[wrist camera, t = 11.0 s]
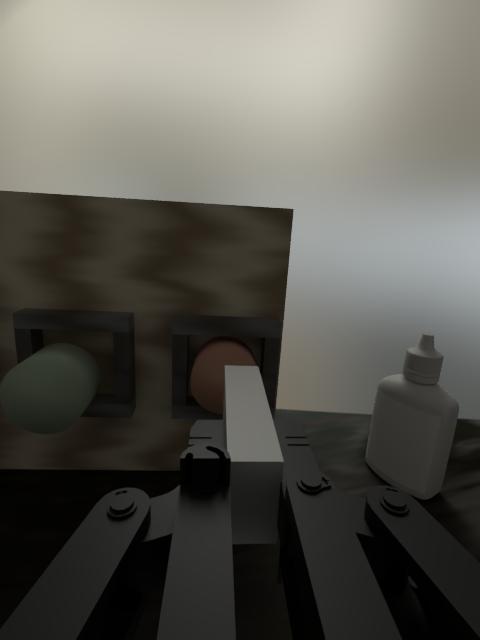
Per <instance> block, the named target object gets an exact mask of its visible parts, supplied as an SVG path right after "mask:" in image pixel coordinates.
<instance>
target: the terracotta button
mask: <svg viewBox="0 0 480 640" xmlns="http://www.w3.org/2000/svg"><path fill="white" fill-rule="evenodd" d="M225 365H230V366H256V363H255V359H254V356H253V353H252V351H251V350H250V348H249V347H248V346H247V345H246V344H245V343H244V342H242V341H241V340H239V339H237V338H234V337H230V336H220V337H215V338H212V339H210V340H208V341H207V342H205V343H204V344H203V345H202V346H201V347H200V348H199V350H198V351H197V353H196V356H195V359H194V364H193V369H192V374H191V381H190V384H191V391H192V394H193V396H194V398H195V399H196V401H197V402H198V403H199V404H200V405H201V406H202V407H203V408H205V409H207V410H209V411H211V412H214V413H218V414H223V400H224V371H225Z"/></svg>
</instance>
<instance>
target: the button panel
mask: <svg viewBox="0 0 480 640" xmlns="http://www.w3.org/2000/svg"><path fill="white" fill-rule="evenodd" d="M292 220H293V209H284V208H268V207H252V206H236V205H220V204H204V203H187V202H173V201H172V202H171V201H157V200H156V201H155V200H139V199H125V198H107V197H93V196H77V195H61V194H44V193H29V192H12V191H0V386H1V383H2V380H3V378H4V377H5V375H6V374H7V373H8V372H9V371H10V370H11V369H12V368H14V367H15V366H17V365H18V364H20V363H21V362H23V361H24V360H26V359H27V358H29V357H30V356H32V355H33V354H35V353H36V352H38V351H39V350H40V349H42V348H44V347H46V346H48V345H51V344H55V343H69V344H73V345H76V346H78V347H81V348H82V349H84V350H86V351H87V352H88V353H89V354H90V355H91V356H92V357H93V358H94V359H95V360H96V362H97V364H98V366H99V368H100V372H101V386H100V389H99V391H98V393H97V394H96V396H95V397H94V399H93V400H92V401H91V403H90V404H89V405H88V407H87V408H86V409H85V411H84V412H83V413H82V415H81V416H80V417H79V419H78V420H77V421H76V422H75V423H74V425H72V426H71V427H70V428H68V429H66V430H65V431H62V432H59V433H56V434H46V435H45V434H36V433H32V432H29V431H27V430H24V429H23V428H21V427H19V426H18V425H16V424H15V423H14V422H13V421H12V420H11V419H10V418H9V417H8V416H7V414H6V413H5V411H4V410H3V408H2V405H1V402H0V469H54V470H156V471H180V457H181V455H182V453H183V452H184V451H185V450H186V449H188V445H189V439H190V431H191V427H192V426H193V425H194V424H195V423H196V421H197V420H223V414H218V413H214V412H211V411H209V410H207V409H205V408H203V407H202V406H201V405H200V404H199V403H198V402H197V401H196V399H195V398H194V396H193V394H192V391H191V384H190V381H191V374H192V369H193V364H194V359H195V356H196V353H197V351H198V350H199V348H200V347H201V346H202V345H203V344H204V343H205V342H207V341H208V340H210V339H212V338H215V337H220V336H230V337H234V338H237V339H239V340H241V341H242V342H244V343H245V344H246V345H247V346H248V347H249V348H250V350H251V351H252V353H253V356H254V359H255V363H256V366H258V367H259V371H260V375H261V378H262V382H263V386H264V389H265V393H266V397H267V401H268V404H269V408H270V412H271V415H272V419H273V420H275V409H276V397H277V387H278V375H279V365H280V353H281V342H282V330H283V320H284V308H285V297H286V286H287V275H288V264H289V253H290V241H291V230H292Z"/></svg>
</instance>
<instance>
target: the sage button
mask: <svg viewBox="0 0 480 640" xmlns="http://www.w3.org/2000/svg"><path fill="white" fill-rule="evenodd" d="M100 386H101V372H100V368H99V366H98V364H97V362H96V360H95V359H94V358H93V357H92V356H91V355H90V354H89V353H88V352H87V351H86V350H84V349H82V348H81V347H78V346H76V345H73V344H69V343H55V344H51V345H48V346H46V347H44V348H42V349H40V350H39V351H38V352H36V353H35V354H33V355H32V356H30V357H29V358H27V359H26V360H24V361H23V362H21V363H20V364H18V365H17V366H15V367H14V368H12V369H11V370H10V371H9V372H8V373H7V374H6V375H5V377H4V378H3V380H2V383H1V386H0V402H1V405H2V408H3V410H4V411H5V413H6V414H7V416H8V417H9V418H10V419H11V420H12V421H13V422H14V423H15V424H16V425H18V426H19V427H21V428H23V429H24V430H27V431H29V432H32V433H36V434H45V435H46V434H56V433H59V432H62V431H65V430H66V429H68V428H70V427H71V426H72V425H74V423H75V422H76V421H77V420H78V419H79V417H80V416H81V415H82V413H83V412H84V411H85V409H86V408H87V407H88V405H89V404H90V403H91V401H92V400H93V399H94V397H95V396H96V394H97V393H98V391H99V389H100Z"/></svg>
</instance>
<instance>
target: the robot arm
mask: <svg viewBox="0 0 480 640" xmlns="http://www.w3.org/2000/svg"><path fill="white" fill-rule="evenodd" d="M278 533H279V538H280V543H281V546H280V557H279V568H278V583H282V579H283V584H284V590H285V596H286V602H287V608H288V613H289V619H290V625H291V631H292V636H293V640H480V562H478V561H477V560H476V559H475V558H474V557H473V556H472V555H471V554H470V553H469V552H468V551H467V550H466V549H465V548H464V547H463V546H462V545H461V544H460V543H459V542H458V541H457V540H456V539H455V538H454V537H453V536H452V535H451V534H450V533H449V532H448V531H447V530H446V529H445V528H444V527H443V526H442V525H441V524H440V523H439V522H438V521H437V520H436V519H435V518H434V517H432V516H431V515H430V514H429V513H428V512H427V511H426V510H425V509H424V508H423V507H422V506H421V505H420V504H419V503H418V502H417V501H416V500H415V499H414V498H413V497H411V496H410V495H409V494H407V493H406V492H404V491H402V490H400V489H398V488H395V487H390V486H386V485H385V486H375V487H373V488H371V489H370V490H369V491H368V493H367V495H366V498H365V497H360V496H356V495H352V494H348V493H345V492H342V491H340V490H338V489H336V487H335V485H334V483H333V482H332V480H331V479H330V478H329V477H328V476H326V475H325V474H324V473H322V472H320V469H319V467H318V464H317V462H316V459H315V457H314V455H313V452H312V450H311V447H310V446H309V442H308V440H307V438H306V435H305V432H304V430H303V428H302V427H301V426H300V425H299V424H298V423H297V422H296V421H295V420H273V419H272V415H271V412H270V408H269V404H268V401H267V397H266V393H265V389H264V386H263V382H262V378H261V375H260V371H259V367H258V366H230V365H225V371H224V400H223V420H197V421H196V423H195V424H194V425H193V426H192V427H191V431H190V439H189V445H188V449H186V450H185V451H184V452H183V453H182V455H181V457H180V484H179V486H177V487H176V488H175V489H174V490H172V491H171V492H169V493H167V494H164V495H161V496H158V497H154V498H150V499H149V496H148V495H147V494H146V493H145V492H144V491H143V490H140V489H137V488H121V489H117V490H114V491H112V492H110V493H108V494H106V495H105V496H104V497H103V498H101V499H100V500H99V501H98V502H97V504H96V505H95V506H94V508H93V509H92V510H91V511H90V513H89V514H88V515H87V517H86V518H85V519H84V521H83V522H82V523H81V524H80V526H79V527H78V528H77V530H76V531H75V532H74V534H73V535H72V536H71V537H70V539H69V540H68V541H67V543H66V544H65V545H64V547H63V548H62V549H61V551H60V552H59V553H58V554H57V556H56V557H55V558H54V560H53V561H52V562H51V564H50V565H49V566H48V567H47V569H46V570H45V571H44V573H43V574H42V575H41V577H40V578H39V579H38V580H37V582H36V583H35V584H34V586H33V587H32V588H31V590H30V591H29V592H28V594H27V595H26V596H25V597H24V599H23V600H22V601H21V603H20V604H19V605H18V607H17V608H16V609H15V610H14V612H13V613H12V614H11V616H10V617H9V618H8V620H7V621H6V622H5V623H4V625H3V626H2V627H1V629H0V640H132V638H133V635H134V633H135V631H136V628H137V626H138V623H139V621H140V619H141V616H142V614H143V612H144V609H145V607H146V605H147V602H148V600H149V598H150V595H151V591H152V590H153V589H156V588H159V587H162V586H164V585H165V587H164V594H163V601H162V607H161V614H160V620H159V627H158V633H157V640H236V628H235V603H234V578H233V553H232V544H277V535H278Z"/></svg>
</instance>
